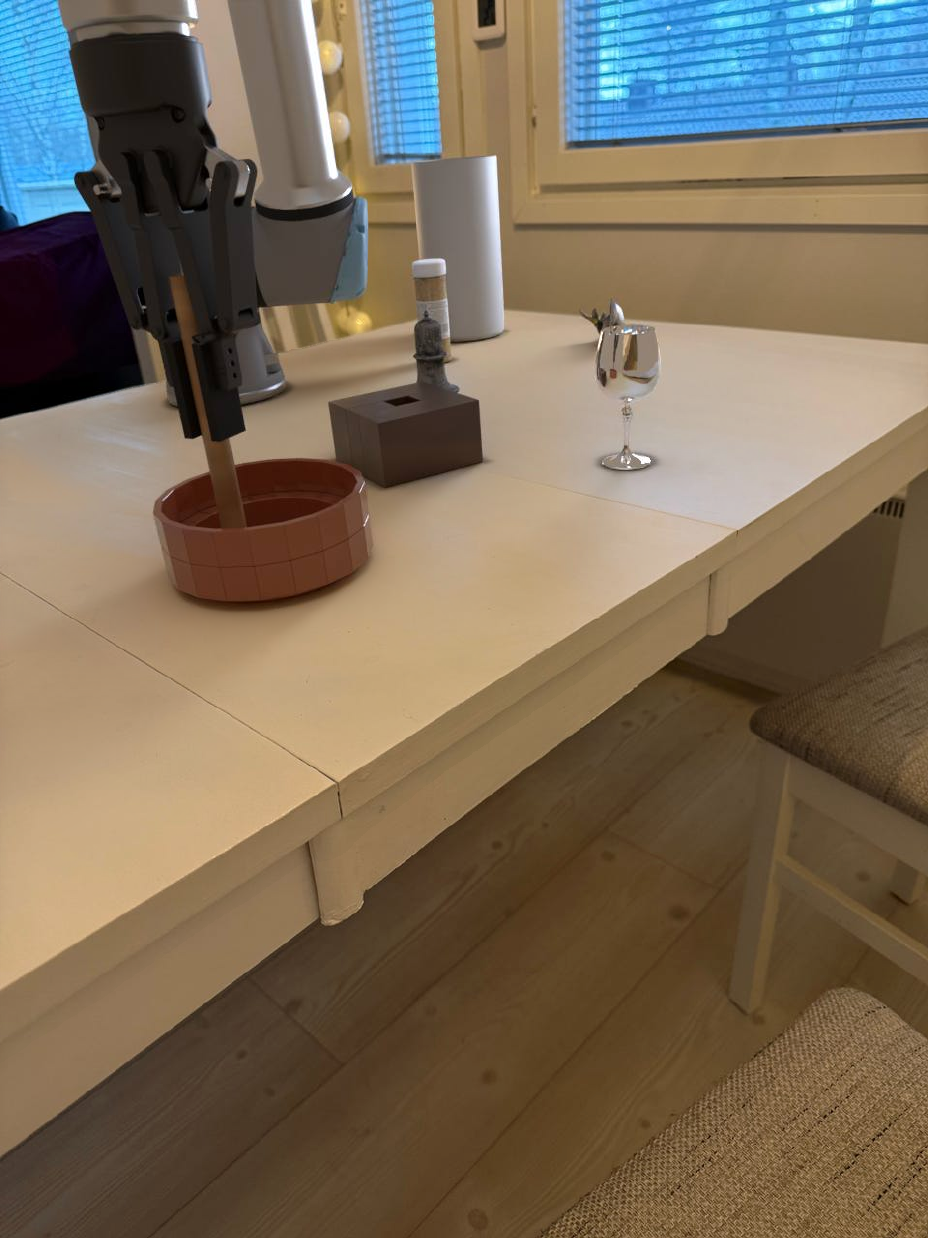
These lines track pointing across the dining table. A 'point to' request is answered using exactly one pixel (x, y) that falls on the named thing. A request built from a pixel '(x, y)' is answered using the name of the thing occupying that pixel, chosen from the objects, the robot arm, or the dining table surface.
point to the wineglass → (627, 378)
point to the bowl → (266, 531)
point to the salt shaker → (430, 354)
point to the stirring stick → (215, 451)
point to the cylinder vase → (463, 239)
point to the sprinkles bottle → (433, 296)
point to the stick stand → (406, 432)
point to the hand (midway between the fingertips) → (215, 433)
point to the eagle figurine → (610, 320)
